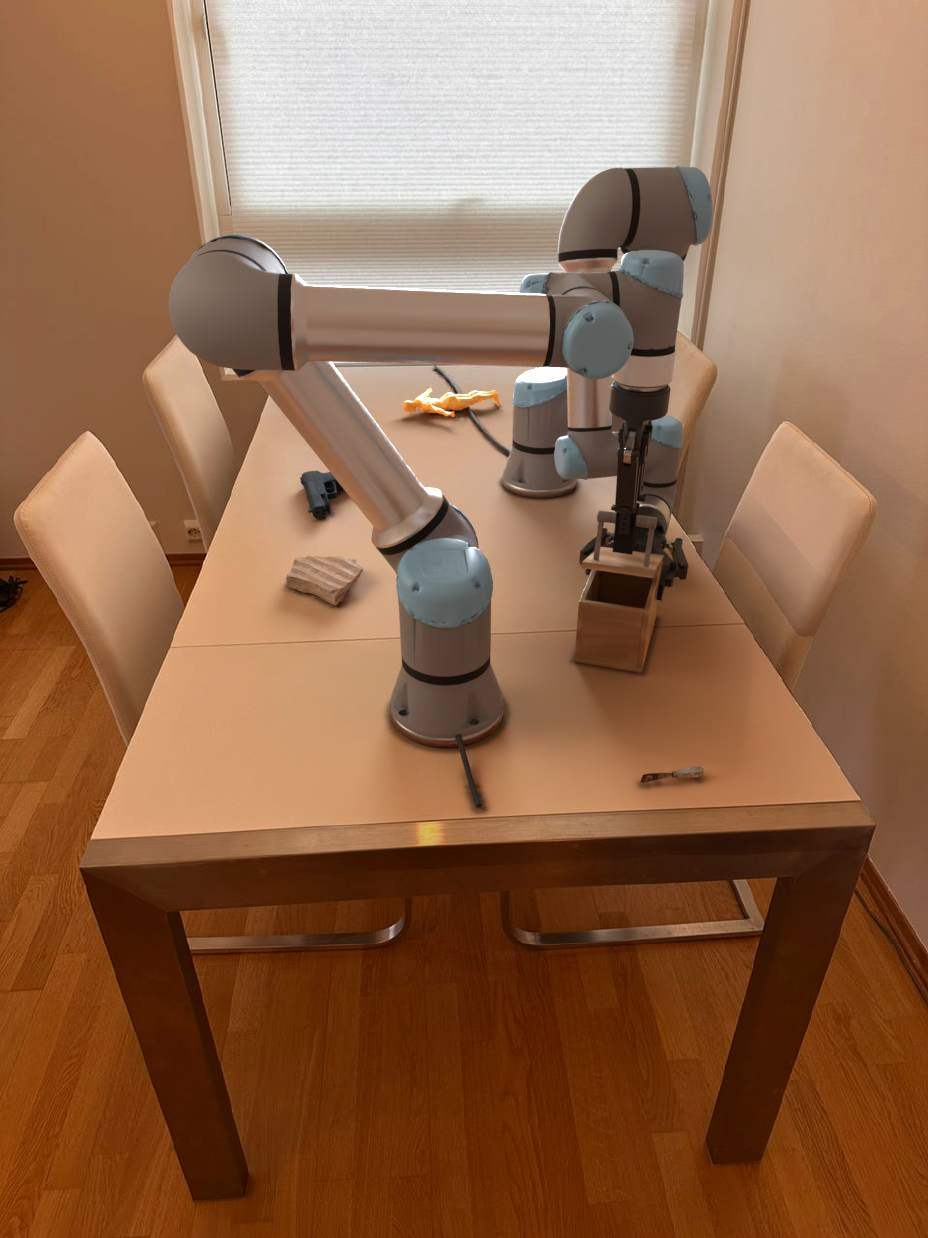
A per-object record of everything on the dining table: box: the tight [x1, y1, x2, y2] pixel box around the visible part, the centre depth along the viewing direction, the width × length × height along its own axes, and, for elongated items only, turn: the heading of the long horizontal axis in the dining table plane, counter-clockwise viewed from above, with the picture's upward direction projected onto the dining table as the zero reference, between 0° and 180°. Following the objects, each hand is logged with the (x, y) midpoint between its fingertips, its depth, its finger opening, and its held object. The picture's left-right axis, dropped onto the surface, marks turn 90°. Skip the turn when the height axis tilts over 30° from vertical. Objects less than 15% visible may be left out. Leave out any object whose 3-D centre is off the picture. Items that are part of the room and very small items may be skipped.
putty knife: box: [640, 765, 705, 784], centre depth 109 cm, size 1×8×2 cm, turn 103°
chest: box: [574, 562, 663, 674], centre depth 133 cm, size 16×10×10 cm, turn 162°
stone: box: [284, 555, 364, 606], centre depth 150 cm, size 13×12×2 cm
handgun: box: [299, 470, 345, 520], centre depth 179 cm, size 3×18×12 cm
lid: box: [581, 509, 664, 578], centre depth 128 cm, size 16×10×8 cm, turn 162°
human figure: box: [402, 385, 500, 418], centre depth 225 cm, size 20×20×4 cm
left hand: (624, 548), depth 125 cm, fingers closed on lid, 1 cm apart
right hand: (624, 587), depth 136 cm, fingers closed on chest, 10 cm apart
